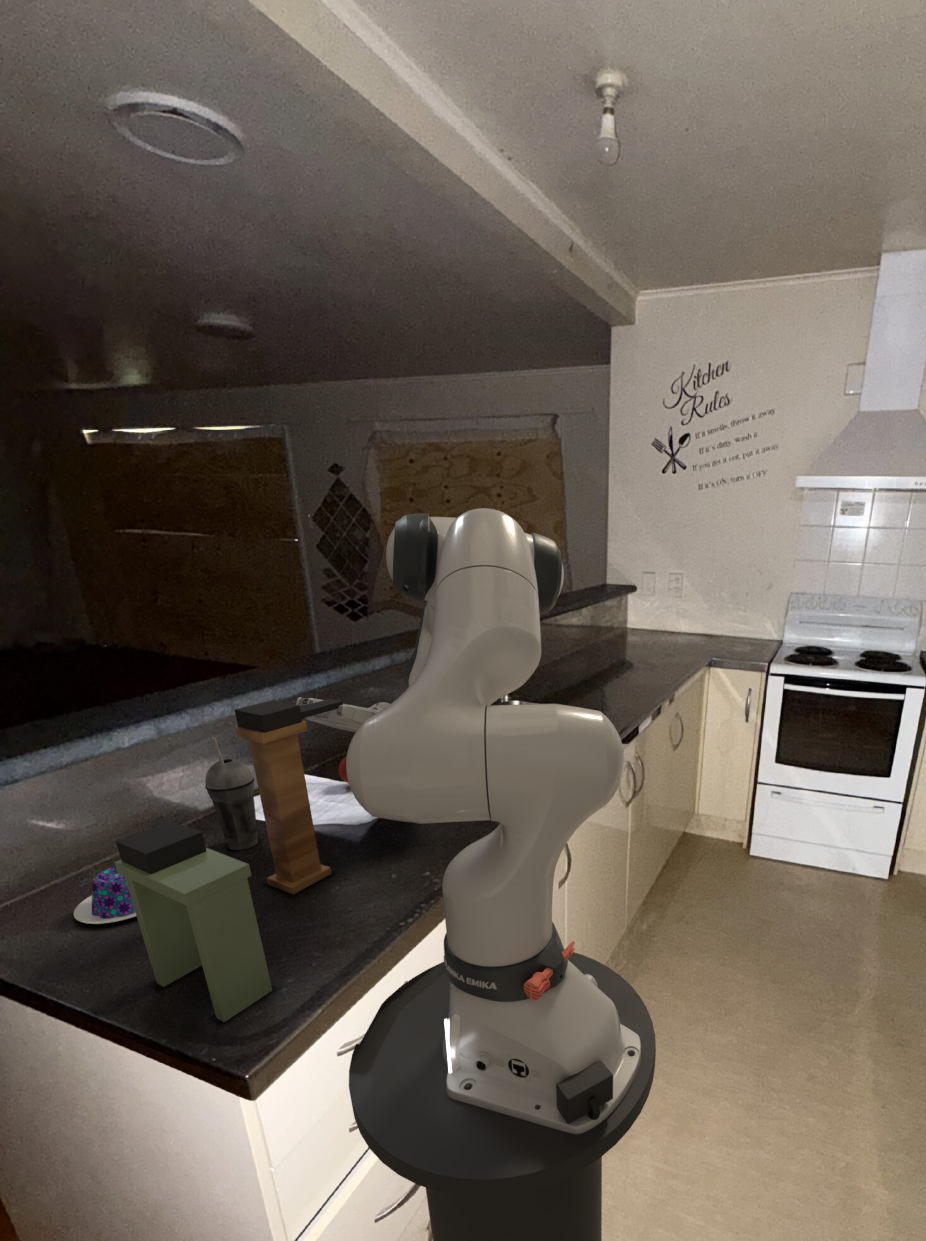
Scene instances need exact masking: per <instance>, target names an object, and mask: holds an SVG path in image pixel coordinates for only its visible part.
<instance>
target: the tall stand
mask: <svg viewBox="0 0 926 1241" xmlns="http://www.w3.org/2000/svg"><path fill="white" fill-rule="evenodd" d="M302 721H303V722H301V723H297V724H294V725H290V726H287V727H283V728H280V729H276V730H273V731H269V732H266V733H263V732H259V731H255V730H251V729H246V728H242V727H238V726H235V727H234V731H235V736H236V739H241V740H245V741H248V744H249V749H250V754H251V759H252V763H253V768H254V769H253V770H254V773H255V778H256V783H257V789H258V794H259V797H260V802H261V807H262V812H263V816H264V821H265V827H266V831H267V837H268V841H269V846H270V847H269V848H270V851H271V856H272V861H273V865H274V870H275V873H273V874H272V875H270V876H267V877H266V883H267V885H268V886H271V887H274V888H276V889H278V890H281V891H283V892H286V893H288V894H291V895H296V894H297V893H299V892H301V891H303V890H304V889H306V888H308V887H311V886H312V885H314V884H316V883H318V882H320V881H322V880H323V879H325V878H327V877H329V876H331V875H332V874H333V873H332V868H331V867H330V866H328V865H325V864H322V863H321V861H320V855H319V848H318V844H317V838H316V832H315V827H314V821H313V815H312V810H311V805H310V804H311V803H310V798H309V792H308V787H307V786H308V785H307V781H306V776H305V770H304V769H305V768H304V764H303V758H302V753H301V747H300V742H299V736H298V734H302V733H305V732H308V726H307V722H306V720H302Z"/></svg>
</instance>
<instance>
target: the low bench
mask: <svg viewBox="0 0 926 1241" xmlns="http://www.w3.org/2000/svg"><path fill="white" fill-rule="evenodd" d="M206 850H207V851H206V852H203V853H201V854H199V855H196V856H194V857H192V858H189V859H187V860H184V861H182V862H180V863H177V864H175V865H172V866H170V867H168V868H165V869H163V870H161V871H158V872H156V873H153V874H150V873H147V872H145V871H143V870H141V869H138V868H136V867H134V866H132V865H130V864H127V863H125V862H123V861H122V860H121V859H119V860H117V861H114V867H116V869H117V872H118V874H120V875H122V876H124V877H125V880H126V883H127V887H128V890H129V893H130V896H131V900H132V903H133V906H134V910H135V913H136V916H135V917H136V919H137V923H138V926H139V930H140V932H141V936H142V939H143V942H144V945H145V948H146V952H147V955H148V958H149V962H150V966H151V969H152V972H153V975H154V978H155V982H156V984H158V985H159V986H161V987H163V988H164V987H166V986H168V985H170V984H172V983H173V982H176V981H177V980H179V979H181V978H182V977H185V976H186V975H188V974H189V973H192V972H193V971H195V970H196V969H199V968H200V967H202V971H203V973H204V977H205V981H206V984H207V989H208V992H209V996H210V1000H211V1003H212V1007H213V1011H214V1014H215V1018H216V1019H217V1020H219V1021H221V1022H223V1023H226V1022H227V1021H229V1020H230V1019H231V1018H234V1017H235V1016H236V1015H237V1014H240V1013H241V1012H242V1011H244V1010H246V1009H247V1008H249V1007H250V1006H251V1005H253V1004H254V1003H256V1002H258V1001H259V1000H260V999H262V998H263V997H266V996H267V995H268V994H270V993H271V992H273V987H272V982H271V978H270V973H269V969H268V965H267V960H266V955H265V951H264V947H263V942H262V937H261V934H260V933H261V932H260V929H259V925H258V924H259V923H258V921H257V915H256V910H255V907H254V903H253V898H252V893H251V889H250V884H249V881H248V878H250V877H252V871H251V868H250V864H249V863H247V862H244V861H242V860H239V859H237V858H235V857H231V856H229V855H226V854H223V853H221V852H219V851H216V850H214V849H211V848H209V847H206Z"/></svg>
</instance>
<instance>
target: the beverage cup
mask: <svg viewBox="0 0 926 1241" xmlns="http://www.w3.org/2000/svg"><path fill="white" fill-rule="evenodd" d="M211 741H212V743H213V746H214V749H215V752H216V755H217V758H218V761H216V762H215V763H213V764H212V765H211V766H210V767H209V768H208V769H207V771H206V774H205V778H204V779H205V782H204V784H205V787H204V788H205V790H206V792H207V794H208V796H209V798H210V800H211V801H212V804H213V808H214V810H215V813H216V816H217V819H218V822H219V824H220V827H221V830H222V833H223V835H224V839H225V841H226V843H227V846H228V848H229V849H230V850H233V851H242V850H247V849H249V848H253V847H254V846H256V845H257V844H258V843H259V839H258V825H257V816H256V807H255V805H256V804H255V796H254V792H255V777H254V776H253V773H252V771H251V770H250V768H249V767H248V766H247V765H246V764H245V763H243V762H242V761H240V760H237V759H234V758H225V759H223V756H222V752H221V750H220V747H219V744H218V741H217V739H216V736H212V737H211Z"/></svg>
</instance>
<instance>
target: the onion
mask: <svg viewBox="0 0 926 1241" xmlns="http://www.w3.org/2000/svg"><path fill="white" fill-rule="evenodd" d="M346 758H347V755H346V756H345V757H344V758H343V759H342V760H341V761H340V764H339V766H338V775H339V777H340V778H341V779H342V781H344V782H345V783H347V784H349V783H348V779H347V772H346Z"/></svg>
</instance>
